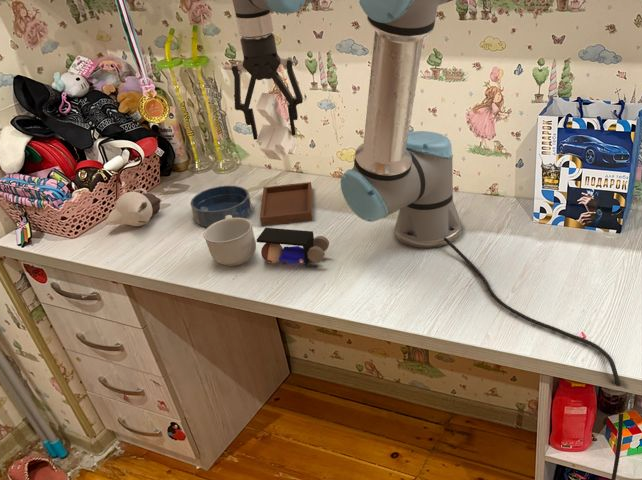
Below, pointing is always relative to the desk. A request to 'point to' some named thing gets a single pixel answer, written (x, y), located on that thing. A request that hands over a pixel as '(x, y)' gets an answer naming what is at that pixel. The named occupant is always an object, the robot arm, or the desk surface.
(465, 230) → the desk surface
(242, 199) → the bowl
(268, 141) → the beige irregular angular piece
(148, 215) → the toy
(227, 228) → the teacup
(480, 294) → the desk surface
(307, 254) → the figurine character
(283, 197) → the tray
